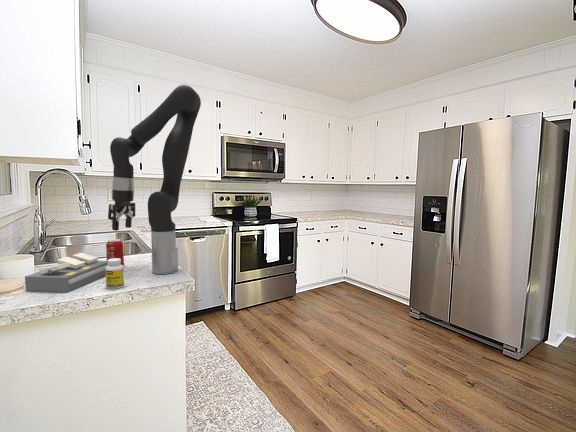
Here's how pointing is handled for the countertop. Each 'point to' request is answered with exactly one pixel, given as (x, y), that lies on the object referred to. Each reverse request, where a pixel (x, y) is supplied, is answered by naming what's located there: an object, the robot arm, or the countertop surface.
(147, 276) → the countertop surface
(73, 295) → the countertop surface
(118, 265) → the supplement bottle
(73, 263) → the rocker
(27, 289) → the console
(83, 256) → the rocker
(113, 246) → the beverage can
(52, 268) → the rocker
